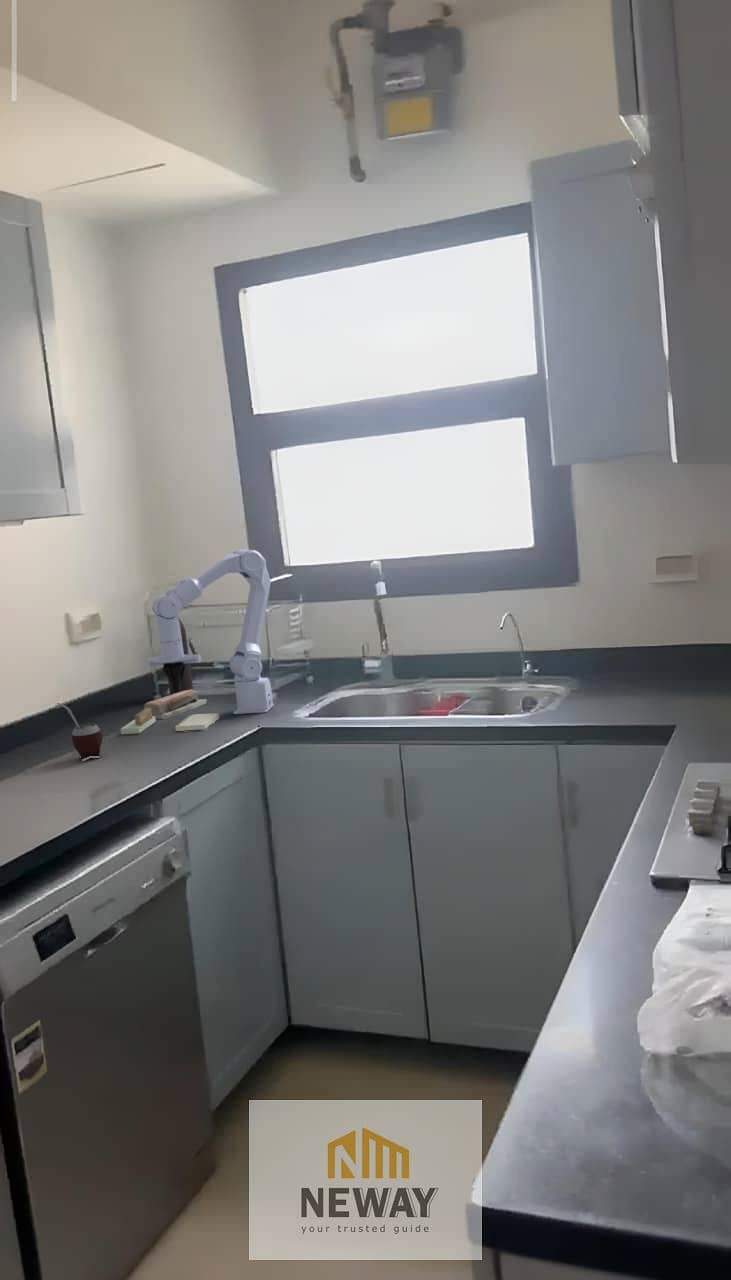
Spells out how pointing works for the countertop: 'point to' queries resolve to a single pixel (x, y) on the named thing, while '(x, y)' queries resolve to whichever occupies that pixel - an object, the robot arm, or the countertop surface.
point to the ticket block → (197, 721)
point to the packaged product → (174, 704)
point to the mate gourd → (85, 738)
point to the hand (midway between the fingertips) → (178, 690)
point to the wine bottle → (187, 676)
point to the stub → (139, 722)
